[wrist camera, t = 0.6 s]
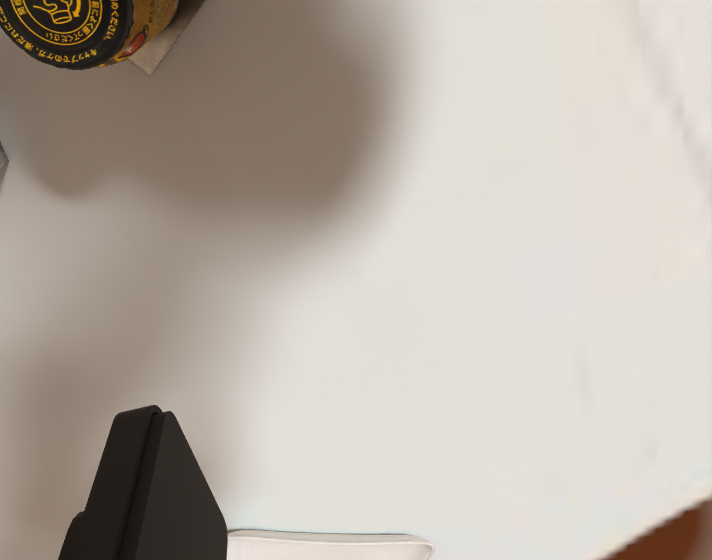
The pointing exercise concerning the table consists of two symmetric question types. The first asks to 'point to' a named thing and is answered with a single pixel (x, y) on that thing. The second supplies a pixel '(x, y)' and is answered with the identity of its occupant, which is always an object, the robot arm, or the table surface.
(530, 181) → the table surface
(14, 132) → the table surface
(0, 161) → the tray
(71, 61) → the condiment
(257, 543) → the salad plate
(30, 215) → the table surface
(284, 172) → the table surface
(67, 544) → the robot arm
